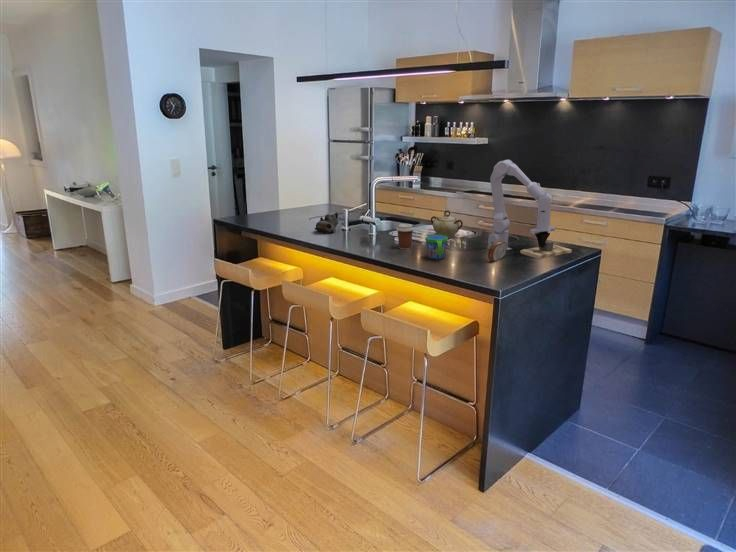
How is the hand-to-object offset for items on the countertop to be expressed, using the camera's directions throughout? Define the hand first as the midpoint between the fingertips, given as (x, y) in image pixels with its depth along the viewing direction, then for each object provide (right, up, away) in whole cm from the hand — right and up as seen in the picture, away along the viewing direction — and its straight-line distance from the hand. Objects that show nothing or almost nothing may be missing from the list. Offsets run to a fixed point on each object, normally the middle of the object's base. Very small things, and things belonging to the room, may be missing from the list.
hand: (541, 247), depth 247 cm
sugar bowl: (-40, +8, +40) cm, 57 cm away
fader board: (+3, -3, +3) cm, 5 cm away
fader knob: (+3, -1, +2) cm, 4 cm away
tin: (-23, -6, -7) cm, 25 cm away
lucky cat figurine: (-109, +12, +57) cm, 124 cm away
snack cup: (-51, -5, -2) cm, 52 cm away
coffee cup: (-65, 0, +17) cm, 67 cm away
